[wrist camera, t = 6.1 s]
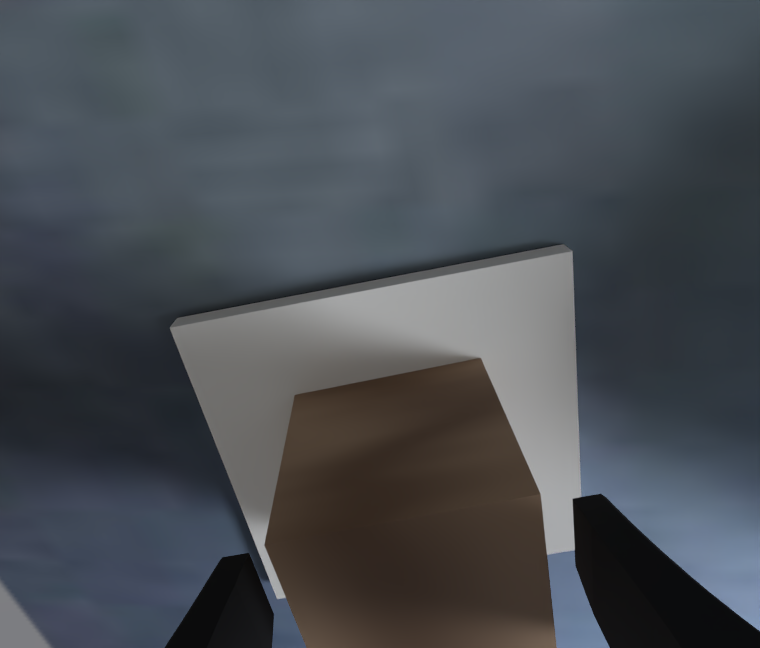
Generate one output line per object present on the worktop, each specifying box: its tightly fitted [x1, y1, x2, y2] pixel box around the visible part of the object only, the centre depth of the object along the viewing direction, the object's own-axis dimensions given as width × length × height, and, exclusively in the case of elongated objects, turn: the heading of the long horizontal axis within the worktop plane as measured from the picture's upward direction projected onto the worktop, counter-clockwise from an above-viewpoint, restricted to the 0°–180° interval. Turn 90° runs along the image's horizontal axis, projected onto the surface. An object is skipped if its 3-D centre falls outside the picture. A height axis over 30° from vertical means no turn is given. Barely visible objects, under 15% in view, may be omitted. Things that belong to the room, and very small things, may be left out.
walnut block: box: [264, 358, 556, 648], centre depth 13 cm, size 5×5×5 cm
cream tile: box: [170, 244, 581, 599], centre depth 15 cm, size 10×10×1 cm
